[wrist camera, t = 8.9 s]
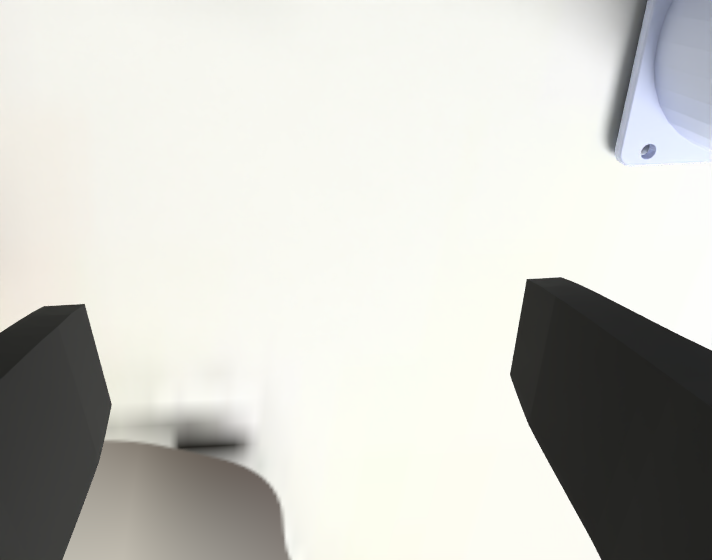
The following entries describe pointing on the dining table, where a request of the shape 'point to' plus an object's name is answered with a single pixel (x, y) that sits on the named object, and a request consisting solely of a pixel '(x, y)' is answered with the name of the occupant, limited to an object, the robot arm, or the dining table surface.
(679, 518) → the robot arm
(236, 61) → the dining table surface
